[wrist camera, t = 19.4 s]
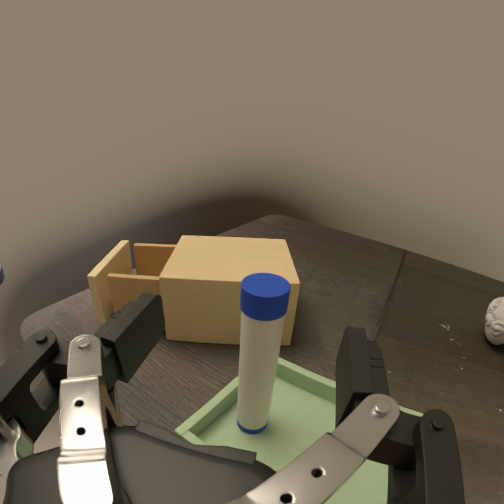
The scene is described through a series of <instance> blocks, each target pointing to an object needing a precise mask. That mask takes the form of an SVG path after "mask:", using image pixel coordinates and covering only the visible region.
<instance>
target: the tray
mask: <svg viewBox="0 0 504 504" xmlns="http://www.w3.org/2000/svg"><path fill="white" fill-rule="evenodd" d="M238 382H239V375H238V376H237V377H236V378H235V379H234V380H232V381H231V382H230V383H229V384H228V385H227V386H226V387H225V388H224V389H222V390H221V391H220V392H219V393H218V394H217V395H216V396H214V397H213V398H212V399H211V400H210V401H209V402H208V403H206V404H205V405H204V406H203V407H202V408H201V409H199V410H198V411H197V412H196V413H195V414H193V415H192V416H191V417H190V418H189V419H187V420H186V421H185V422H184V423H182V424H181V425H180V426H179V427H178V428H176V429H175V430H174V431H175V434H176V435H177V436H179V437H181V438H182V439H184V440H186V441H188V442H189V443H191V444H196V445H214V446H229V447H233V448H238V449H243V450H248V451H253V452H257V455H256V460H258V461H260V462H262V463H264V464H266V465H268V466H269V467H271V468H272V469H273V470H275V471H276V472H278V471H280V470H281V469H282V468H284V467H285V466H286V465H288V464H289V463H290V462H291V461H293V460H294V459H295V458H296V457H298V456H299V455H300V454H301V453H303V452H304V451H305V450H306V449H307V448H308V447H310V446H311V445H312V444H313V443H314V442H315V441H317V440H318V439H319V438H320V437H321V436H322V435H324V434H325V433H327V432H329V433H331V432H332V431H333V430H335V414H336V382H334V381H332V380H329V379H327V378H325V377H322V376H320V375H318V374H315V373H313V372H311V371H308V370H306V369H304V368H301V367H299V366H297V365H295V364H292V363H290V362H288V361H286V360H284V359H282V358H278V365H277V371H276V377H275V383H274V389H273V394H272V400H271V406H270V411H269V417H268V423H267V427H266V428H265V430H263V431H262V432H260V433H258V434H248V433H245V432H243V431H242V430H240V429H239V427H238V425H237V408H238ZM399 408H400V410H401V411H403V412H406V413H409V414H413V415H416V416H420V417H422V415H423V414H422V413H419V412H416V411H413V410H410V409H407V408H404V407H401V406H399ZM387 491H388V465H385V464H381V463H378V462H374V461H371V460H368V459H367V460H366V461H365V462H364V463H363V464H362V465H361V467H360V468H359V469H358V470H357V471H356V472H355V473H354V474H353V475H352V476H351V477H350V478H349V480H348V481H347V482H346V483H345V484H344V485H343V486H342V487H341V488H340V489H339V490H338V491H337V492H336V493H335V494H334V495H333V496H332V497H331V498H330V499H329V500H328V501H327V502H325V503H324V504H387Z"/></svg>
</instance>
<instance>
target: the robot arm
mask: <svg viewBox="0 0 504 504" xmlns="http://www.w3.org/2000/svg"><path fill="white" fill-rule="evenodd" d="M164 330H165V318H164V311H163V303H162V297H161V296H160V295H157V294H153V293H148V292H143V293H142V294H141V295H140V296H139V297H138V298H137V299H136V300H132V301H130V302H128V303H126V304H124V305H123V306H122V307H121V308H120V309H119V310H118V311H117V313H115V314H114V315H113V316H112V318H110V319H109V320H108V321H107V322H106V323H105V324H104V325H103V326H102V327H101V328H100V329H99V330H98V331H97V332H96V333H95V334H94V335H90V334H85V335H80V336H78V337H76V338H74V339H73V340H72V341H71V342H62V341H58V340H57V338H56V335H55V333H54V332H53V331H51V330H41V331H38V332H36V333H34V334H33V335H32V336H31V337H30V338H29V339H28V340H27V341H26V342H25V343H24V344H23V345H22V346H21V347H20V348H19V349H18V350H17V351H16V352H15V353H14V354H13V355H12V356H11V357H10V358H9V359H8V360H7V361H6V362H5V363H4V364H3V365H2V366H1V367H0V476H2V477H3V478H5V479H6V480H7V483H6V492H5V498H4V502H3V504H324V503H325V502H327V501H328V500H329V499H330V498H331V497H332V496H333V495H334V494H335V493H336V492H337V491H338V490H339V489H340V488H341V487H342V486H343V485H344V484H345V483H346V482H347V481H348V480H349V478H350V477H351V476H352V475H353V474H354V473H355V472H356V471H357V470H358V469H359V468H360V467H361V465H362V464H363V463H364V462H365V461H366V460H367V459H368V460H371V461H374V462H378V463H381V464H385V465H388V491H387V504H465V500H464V488H463V478H462V470H461V463H460V456H459V450H458V444H457V439H456V434H455V429H454V424H453V421H452V419H451V417H450V416H449V415H448V414H447V413H445V412H443V411H441V410H436V409H433V410H429V411H427V412H425V413H424V414H423V415H422V417H420V416H416V415H413V414H409V413H406V412H403V411H401V410H400V408H399V405H398V404H397V402H396V401H395V400H394V399H393V398H391V397H390V394H389V389H388V383H387V377H386V372H385V368H384V362H383V357H382V352H381V349H380V348H379V346H378V345H377V344H376V342H375V341H368V340H367V338H366V333H365V328H360V327H351V326H347V327H346V329H345V332H344V335H343V338H342V342H341V345H340V348H339V352H338V355H337V360H336V414H335V430H333V431H332V432H331V433H329V432H327V433H325V434H324V435H322V436H321V437H320V438H319V439H318V440H317V441H315V442H314V443H313V444H312V445H311V446H310V447H308V448H307V449H306V450H305V451H304V452H303V453H301V454H300V455H299V456H298V457H296V458H295V459H294V460H293V461H291V462H290V463H289V464H288V465H286V466H285V467H284V468H282V469H281V470H280V471H278V472H276V471H275V470H273V469H272V468H271V467H269V466H268V465H266V464H264V463H262V462H260V461H258V460H256V455H257V452H253V451H248V450H243V449H238V448H233V447H229V446H214V445H196V444H191V443H189V442H188V441H186V440H184V439H182V438H181V437H179V436H177V435H176V434H174V433H172V432H171V431H169V430H167V429H165V428H162V427H159V426H157V425H154V424H151V423H148V422H146V421H143V420H140V421H139V423H138V424H137V426H123V423H122V419H121V414H120V408H119V402H118V396H117V389H116V385H115V383H116V382H117V381H118V380H120V381H123V382H125V383H128V382H129V381H130V379H131V378H132V376H133V375H134V374H135V372H136V371H137V370H138V368H139V367H140V365H141V364H142V363H143V361H144V360H145V359H146V357H147V356H148V354H149V353H150V352H151V350H152V349H153V348H154V346H155V345H156V343H157V342H158V341H159V339H160V338H161V337H162V335H163V333H164ZM41 370H42V372H43V374H44V376H45V378H44V379H43V380H42V381H41V382H40V384H39V385H38V386H37V387H36V388H35V390H34V391H33V392H32V393H31V392H30V384H31V382H32V381H33V379H34V378H35V377H36V376H37V375H38V374H39V373H40V371H41ZM58 409H59V438H60V446H59V447H56V448H53V449H50V450H47V451H43V452H40V453H36V454H34V453H33V449H34V445H33V444H34V443H35V441H36V440H37V438H38V437H39V436H40V434H41V433H42V431H43V430H44V428H45V427H46V426H47V424H48V423H49V421H50V420H51V418H52V417H53V416H54V414H55V413H56V411H57V410H58Z"/></svg>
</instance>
